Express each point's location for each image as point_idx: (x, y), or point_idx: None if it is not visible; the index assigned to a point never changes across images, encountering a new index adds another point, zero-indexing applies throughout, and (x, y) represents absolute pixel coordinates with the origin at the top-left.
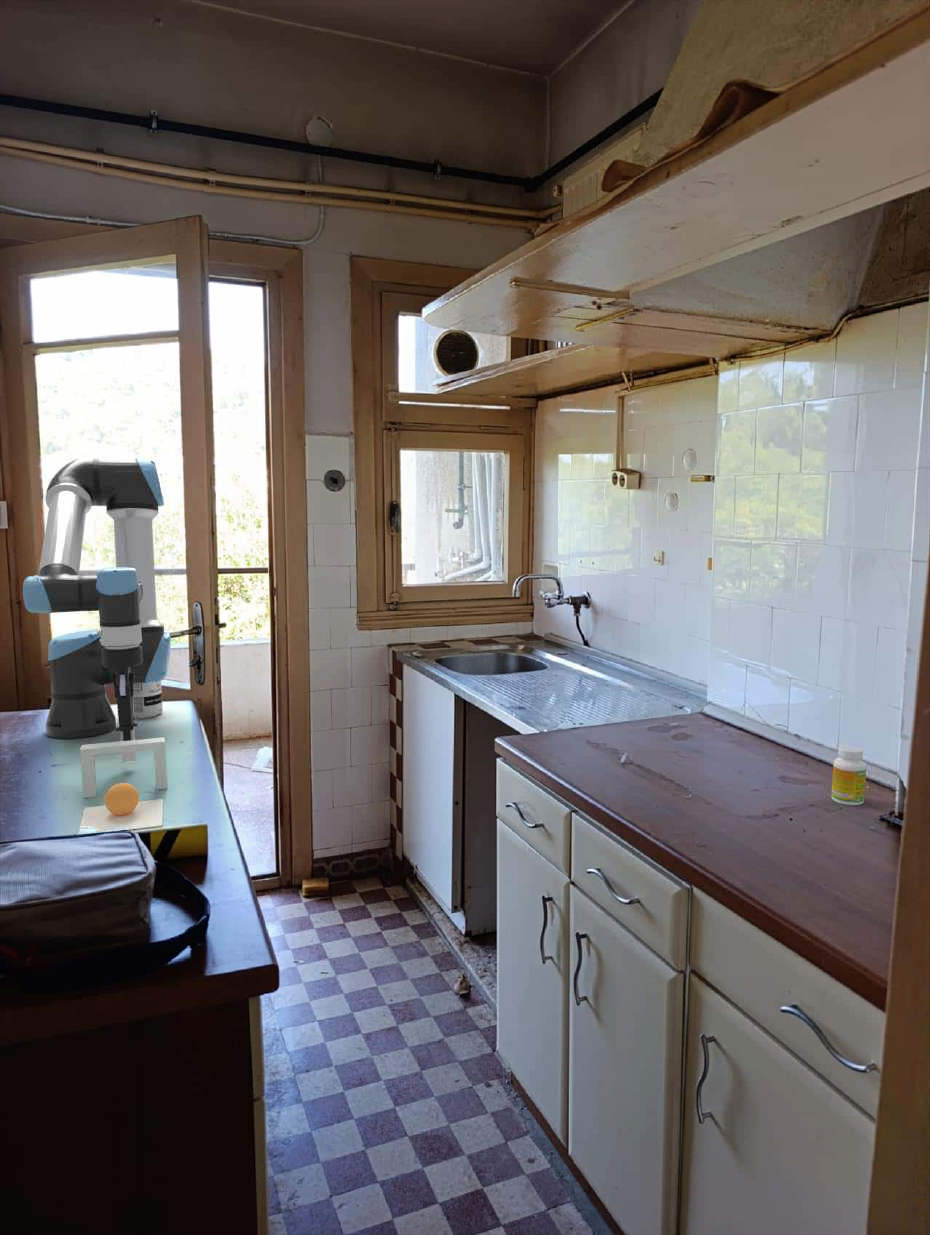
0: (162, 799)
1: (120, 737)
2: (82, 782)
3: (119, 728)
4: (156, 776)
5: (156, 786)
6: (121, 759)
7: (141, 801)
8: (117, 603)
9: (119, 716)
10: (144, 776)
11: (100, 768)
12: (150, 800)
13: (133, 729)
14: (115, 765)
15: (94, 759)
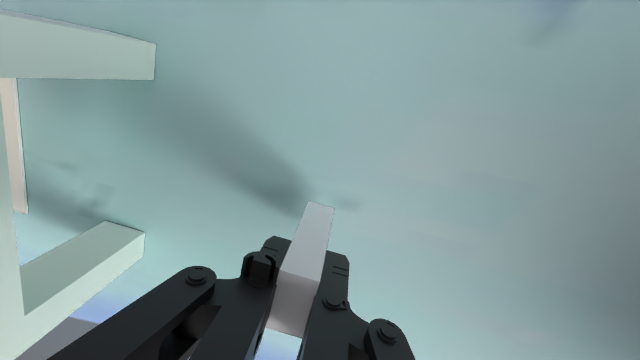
0: (21, 212)
1: (287, 251)
2: (56, 20)
3: (178, 272)
4: (71, 241)
5: (98, 226)
6: (308, 205)
7: (19, 167)
8: None
9: (91, 336)
10: (231, 228)
11: (393, 138)
12: (21, 187)
13: (270, 326)
14: (395, 187)
15: (48, 78)
